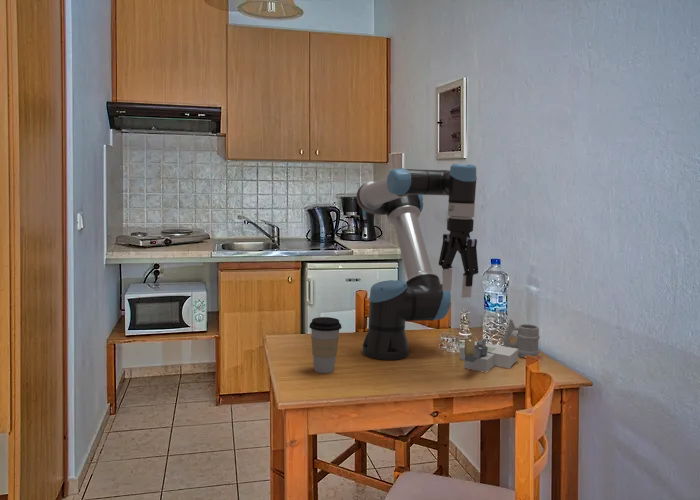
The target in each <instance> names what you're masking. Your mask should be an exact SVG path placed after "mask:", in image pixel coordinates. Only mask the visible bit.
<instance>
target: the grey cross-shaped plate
mask: <svg viewBox="0 0 700 500" xmlns="http://www.w3.org/2000/svg"><path fill="white" fill-rule="evenodd" d="M478 343H483V346H487V347H488V350H487V353H490V354H494V367H497V366H498V368H502V367H505V368H504V369H508V368H509V369H510V368H512V367H513V366H514V365H515V364H516V363H517V362H519V361H518V359H519V357H518V349H516V347H514V348H510V347H504V345H497V344H492V343H488V342H487V339H486V338H481V339H480V340H478V341H476V340H475V345H478ZM464 350H465V343H464V344H463V345H461V346H460V347H459V357H458V358H459V360H460V359H461V360H462V361H465V355H464ZM515 362H516V363H515ZM514 363H515V364H514ZM513 364H514V365H513ZM512 365H513V366H512ZM511 366H512V367H511Z"/></svg>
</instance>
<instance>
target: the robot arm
mask: <svg viewBox="0 0 700 500" xmlns="http://www.w3.org/2000/svg"><path fill="white" fill-rule="evenodd" d="M477 180H478V177H477V166H476V165H474V164H472V163H471V164H468V163H467V164H466V163H464V164H463V163H452V164H451V166H450V167H449V169H415V168H414V169H412V168H411V169H410V168H393V169H391V170H390V171H389V173H388V174H387V176H386V177H384V178H382V179H379V180H377V181H368V182H365V183H363V184H362V185H360V187H358V189H357V192H356V194H355V195H356V201H357V204H358V206H359V207H360V208H361V210H363V211H364V212H366V213H368V214H372V215H376V216H377V215H378V216H380V215H382V216H383V215H384V216H387V219H388V222H389V224H392V225H393V226H394V229H395V234H396V239H397V242H398V247H399V250H400V254H401V258H402V262H403V266H404V270H405V273H406V277H407V280H406V281H405V280H400V279H397V280H396V279H395V280H394V279H391V280H383V281H379V282H376V283H374V284H373V285H371V287H370V291H369V292H370V294H369V296H368V297H369V298H368V300H369V304H368V305H369V309H368V310H369V311H368V330H367V332H366V335H365V338H364V341H363V343H362V348H361V349H362V351H361V353H362V355H364V356H366V357H368V358H371V359H374V360H375V359H376V360H382V361H396V360H402V359H405V358H407V357H409V356H410V346H409V342H408V339H407V338H408V337H407V335H406V331H405V330H406V328H405V326H406V322H417V321H418V322H420V321H421V322H422V321H425V322H426V321H432V322H433V321H438V320H443V319H445V318H446V316H447V315H448V313H449V311H450V308H451V302H452V299H451V297H452V295H451V291H452V281H453V266H452V265H453V262H454V260H455V258H456V255H457V252H458V254H460V258H461V263H462V267H463V271H464V273H462V284H461V286H462V287H461V298H463V299H464V298H472V286H473V281H474V276H475V275H478V274H479V264H478V263H479V262H478V251H477V245H478V244H477V243H478V240H477V239H476V238H471V235H470V233H471V232H473V231H474V219H473V218H474V217H475V206H476V205H475V204H476V202H475V201H476V190H477V189H476V188H477ZM424 196H446V197H447V196H448V207H447V208H448V209H447V210H448V211H447V216H448V218H447V221H446V230H447V231H449V233H443V234H442V244H441V245H442V246H441V250H440V254H439V258H438V266H441V268H442V283H441V281H440V277H439V276H438V275H437V274H435V273H433V269H432V266H431V262H430V258H429V254H428V251H427V248H426V244H425V241H424V236H423V232H422V229H421V226H420V222H419V217H420V215H421V212H422V211H423V209H424V202H423V201H424Z"/></svg>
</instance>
